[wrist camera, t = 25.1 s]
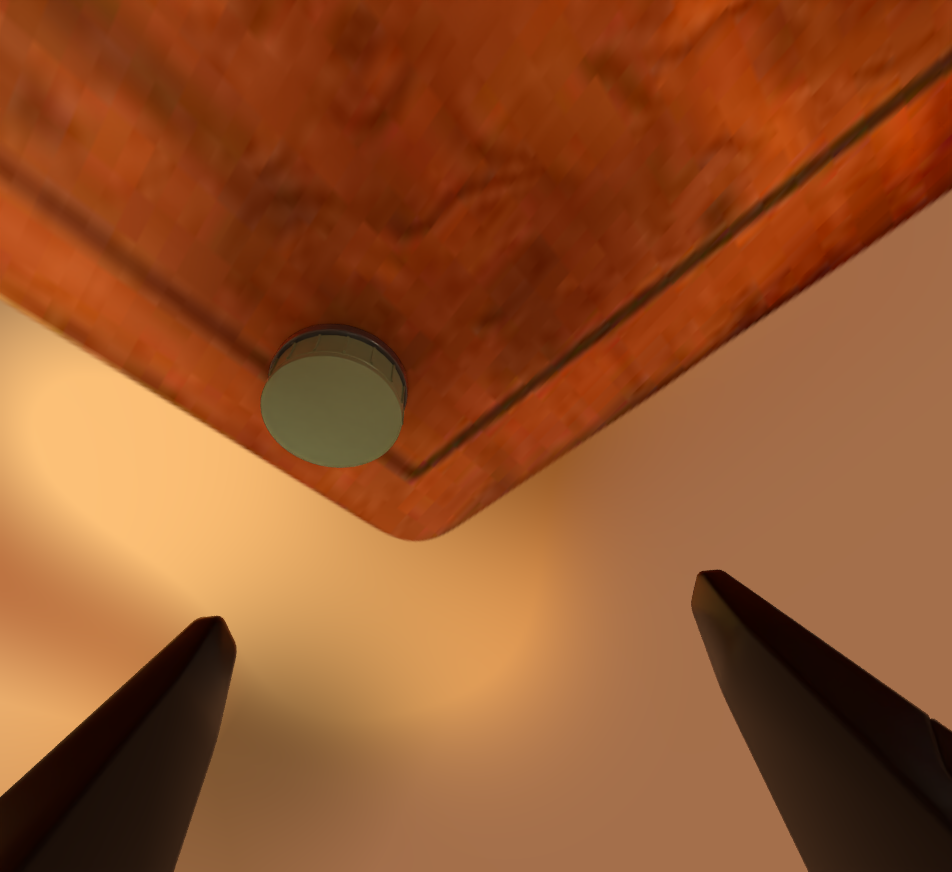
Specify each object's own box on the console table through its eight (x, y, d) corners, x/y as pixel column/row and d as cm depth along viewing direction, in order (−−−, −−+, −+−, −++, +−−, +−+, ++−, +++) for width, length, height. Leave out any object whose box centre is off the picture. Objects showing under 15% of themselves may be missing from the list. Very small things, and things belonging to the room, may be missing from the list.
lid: (403, 445, 24) (401, 470, 23) (280, 441, 24) (271, 466, 22) (405, 338, 21) (403, 359, 19) (260, 329, 20) (247, 350, 19)
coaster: (243, 345, 21) (239, 352, 21) (378, 306, 21) (376, 312, 20) (310, 449, 25) (308, 457, 25) (425, 419, 24) (425, 426, 24)
